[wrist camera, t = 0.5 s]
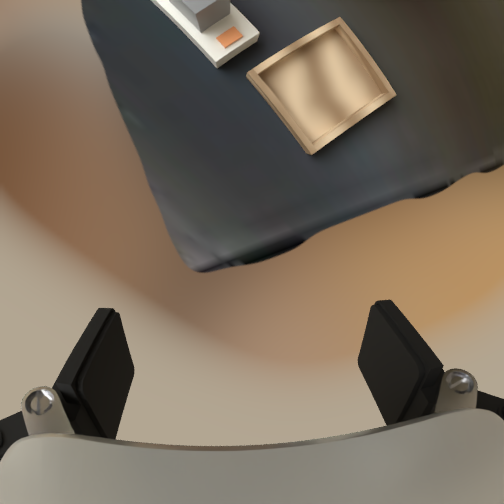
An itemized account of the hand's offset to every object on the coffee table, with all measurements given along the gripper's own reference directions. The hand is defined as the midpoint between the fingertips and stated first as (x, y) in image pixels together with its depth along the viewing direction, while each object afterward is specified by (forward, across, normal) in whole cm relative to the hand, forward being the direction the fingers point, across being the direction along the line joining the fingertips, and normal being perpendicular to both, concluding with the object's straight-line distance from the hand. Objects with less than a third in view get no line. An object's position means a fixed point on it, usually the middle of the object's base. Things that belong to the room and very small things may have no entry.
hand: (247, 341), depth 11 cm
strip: (+29, +6, -25) cm, 38 cm away
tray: (+29, -11, -14) cm, 34 cm away
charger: (+28, +4, -22) cm, 36 cm away
